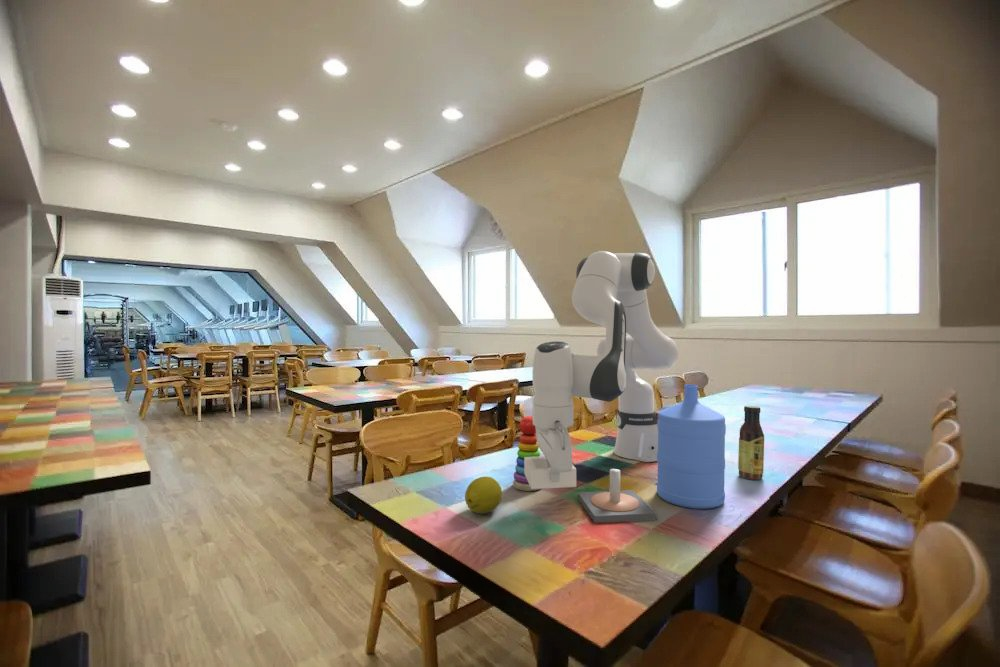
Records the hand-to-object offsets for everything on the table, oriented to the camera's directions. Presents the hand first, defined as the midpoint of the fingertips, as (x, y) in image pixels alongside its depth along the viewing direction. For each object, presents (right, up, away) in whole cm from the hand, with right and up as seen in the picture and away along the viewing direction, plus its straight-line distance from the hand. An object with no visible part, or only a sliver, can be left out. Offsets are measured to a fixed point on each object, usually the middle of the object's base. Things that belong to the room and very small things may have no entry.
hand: (553, 478), depth 102 cm
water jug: (+36, -9, +13) cm, 39 cm away
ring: (0, -2, +4) cm, 5 cm away
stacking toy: (-4, -9, +21) cm, 23 cm away
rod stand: (+15, -9, +7) cm, 19 cm away
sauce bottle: (+59, -9, +28) cm, 66 cm away
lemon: (-16, -10, +5) cm, 19 cm away
